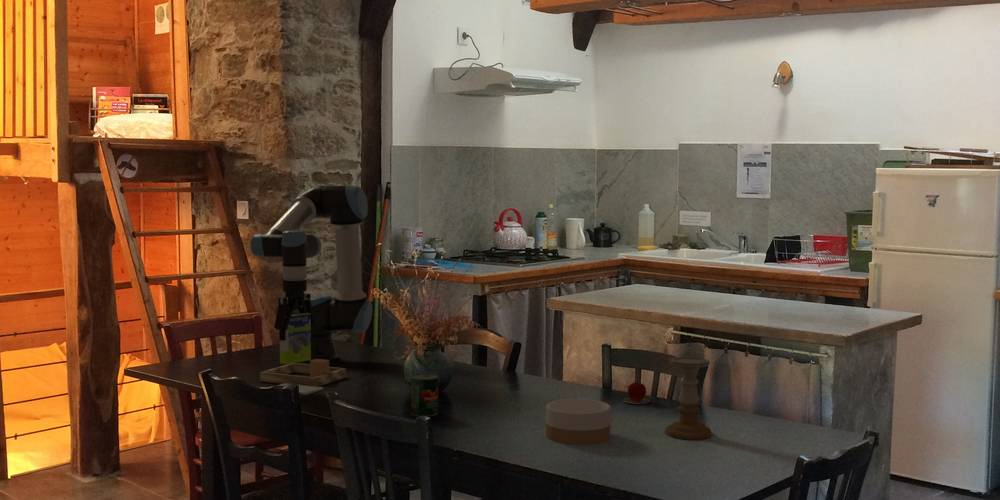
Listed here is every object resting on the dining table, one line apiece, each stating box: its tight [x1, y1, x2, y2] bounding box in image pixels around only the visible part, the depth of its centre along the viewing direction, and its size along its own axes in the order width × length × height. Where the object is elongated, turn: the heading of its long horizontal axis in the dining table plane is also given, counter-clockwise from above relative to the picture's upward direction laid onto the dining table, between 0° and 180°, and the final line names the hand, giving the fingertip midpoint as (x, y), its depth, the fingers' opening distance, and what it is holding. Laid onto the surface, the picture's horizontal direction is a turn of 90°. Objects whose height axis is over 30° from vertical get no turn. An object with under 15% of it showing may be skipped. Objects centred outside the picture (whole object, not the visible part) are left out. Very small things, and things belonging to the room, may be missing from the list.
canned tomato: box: [410, 373, 439, 417], centre depth 298 cm, size 8×8×11 cm
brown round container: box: [545, 398, 612, 446], centre depth 274 cm, size 17×17×8 cm
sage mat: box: [277, 383, 324, 396], centre depth 330 cm, size 9×15×1 cm, turn 65°
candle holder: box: [664, 356, 712, 440], centre depth 276 cm, size 12×12×20 cm
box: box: [279, 308, 311, 365], centre depth 328 cm, size 10×4×17 cm, turn 142°
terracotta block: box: [309, 359, 330, 377], centre depth 343 cm, size 4×5×7 cm
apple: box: [623, 382, 650, 405], centre depth 314 cm, size 8×8×6 cm
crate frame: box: [259, 362, 347, 387], centre depth 346 cm, size 18×22×3 cm
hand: (295, 347), depth 328 cm, fingers closed on box, 11 cm apart
